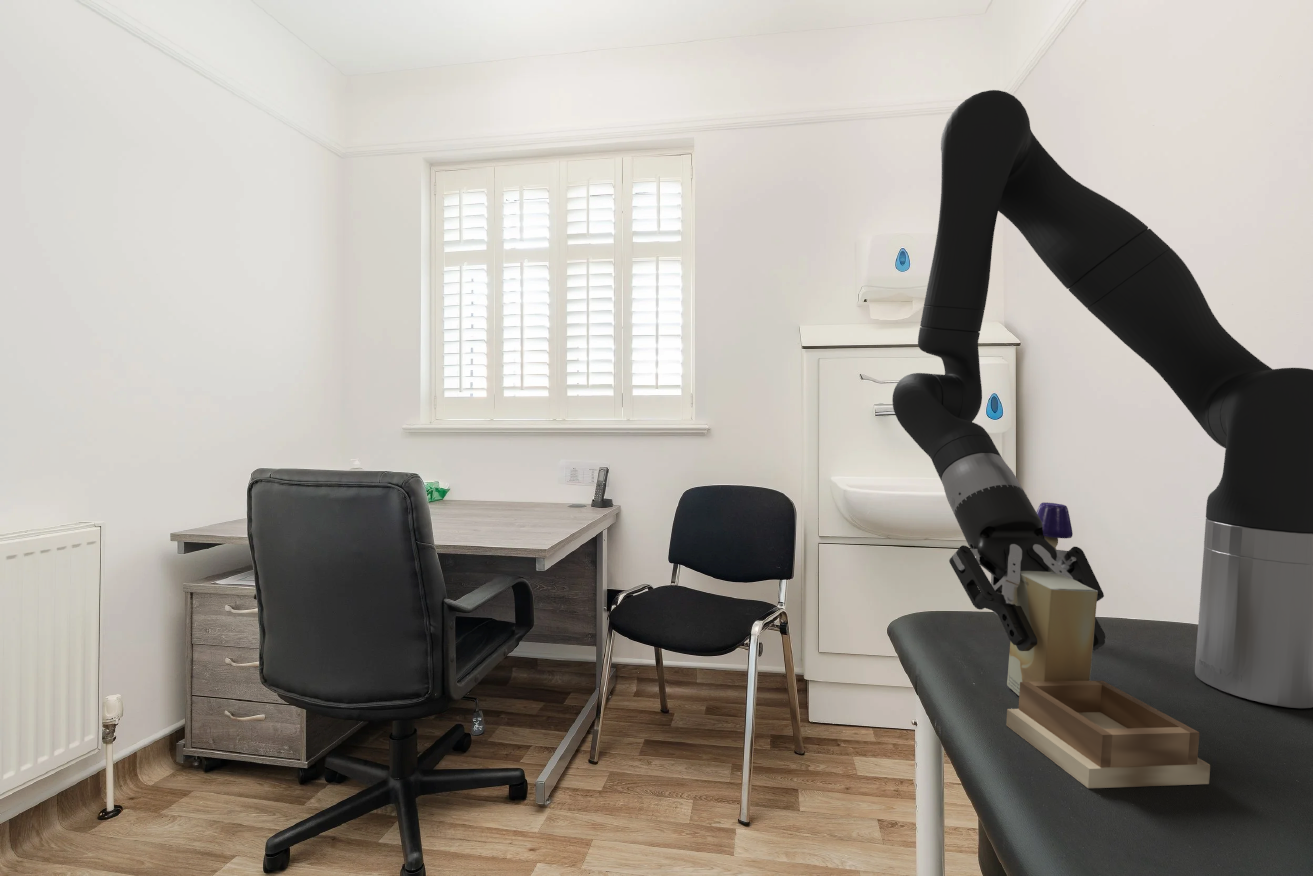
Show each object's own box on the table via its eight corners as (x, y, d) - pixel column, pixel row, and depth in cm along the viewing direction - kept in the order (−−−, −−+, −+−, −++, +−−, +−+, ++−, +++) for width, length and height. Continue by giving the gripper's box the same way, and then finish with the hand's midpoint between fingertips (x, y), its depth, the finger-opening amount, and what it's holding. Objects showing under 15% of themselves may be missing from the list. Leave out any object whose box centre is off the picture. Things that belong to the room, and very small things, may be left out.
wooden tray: (1108, 722, 55) (1111, 679, 55) (1209, 784, 46) (1212, 732, 46) (1006, 725, 54) (1008, 681, 54) (1088, 788, 45) (1091, 736, 45)
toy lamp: (1053, 624, 81) (1060, 501, 80) (1074, 637, 76) (1082, 507, 76) (1016, 622, 81) (1023, 500, 81) (1034, 635, 77) (1042, 505, 76)
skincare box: (1005, 686, 62) (1011, 568, 61) (1048, 688, 62) (1055, 570, 61) (1043, 718, 55) (1051, 587, 55) (1091, 720, 55) (1099, 589, 55)
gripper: (942, 481, 64) (1012, 631, 53) (1067, 483, 66) (1161, 629, 54) (914, 521, 70) (972, 664, 59) (1029, 522, 71) (1107, 662, 60)
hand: (1062, 647), depth 57 cm, fingers open, 6 cm apart
